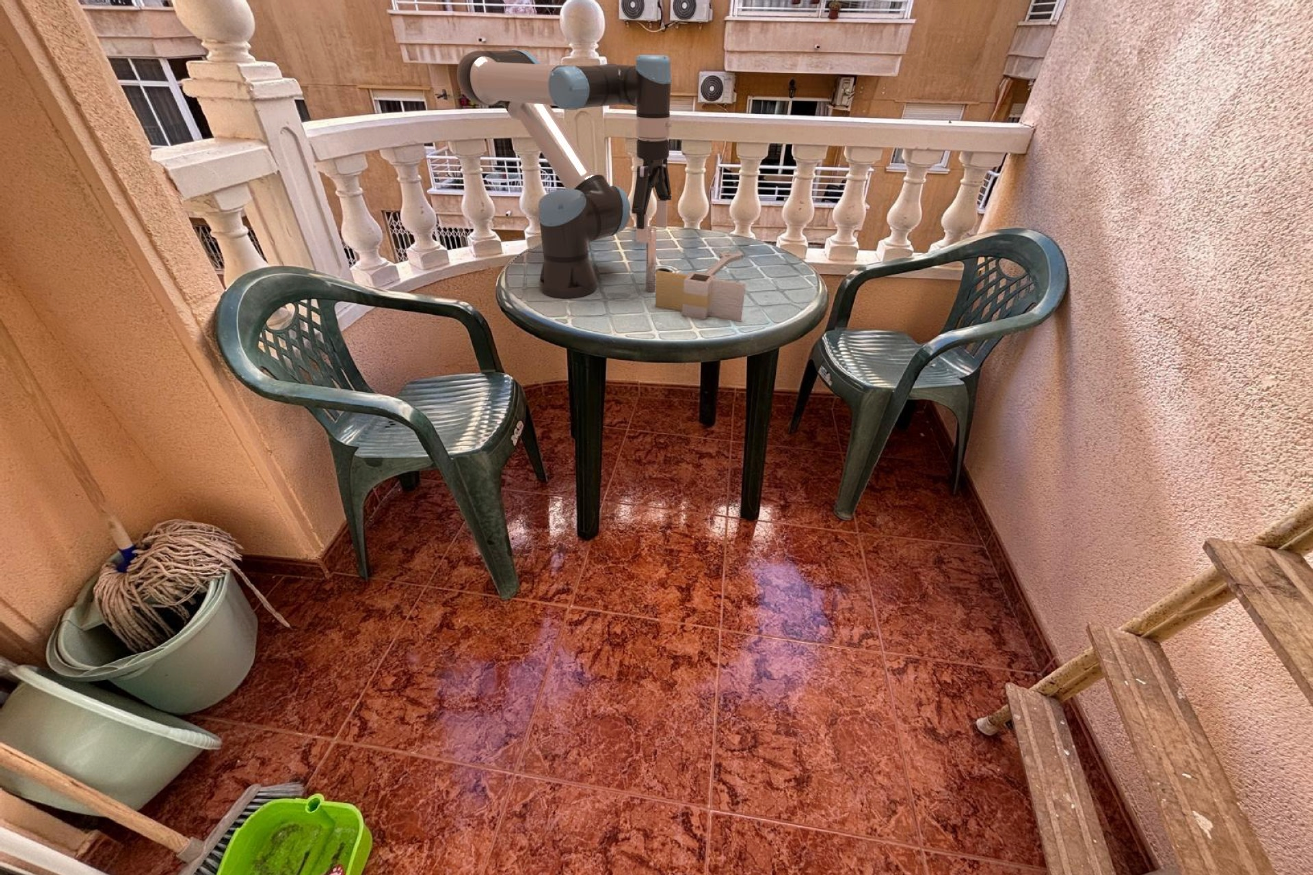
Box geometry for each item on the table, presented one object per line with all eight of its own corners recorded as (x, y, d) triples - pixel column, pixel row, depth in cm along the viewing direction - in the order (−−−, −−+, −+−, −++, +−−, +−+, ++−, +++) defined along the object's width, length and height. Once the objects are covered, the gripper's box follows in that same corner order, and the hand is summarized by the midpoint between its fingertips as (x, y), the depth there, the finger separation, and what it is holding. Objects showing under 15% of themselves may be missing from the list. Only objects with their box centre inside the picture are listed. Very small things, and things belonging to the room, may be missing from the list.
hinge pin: (644, 291, 142) (645, 229, 132) (648, 288, 144) (648, 227, 134) (653, 292, 141) (654, 231, 132) (656, 289, 143) (657, 228, 134)
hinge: (651, 310, 132) (652, 275, 127) (660, 301, 137) (661, 267, 131) (737, 325, 126) (742, 289, 121) (743, 315, 131) (748, 280, 125)
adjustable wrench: (707, 282, 150) (708, 276, 149) (687, 278, 152) (688, 271, 151) (744, 257, 166) (745, 251, 165) (726, 253, 169) (726, 248, 168)
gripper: (648, 147, 110) (647, 250, 123) (685, 132, 129) (682, 223, 142) (615, 145, 113) (618, 246, 125) (657, 130, 131) (655, 220, 144)
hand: (652, 234), depth 134 cm, fingers open, 13 cm apart
